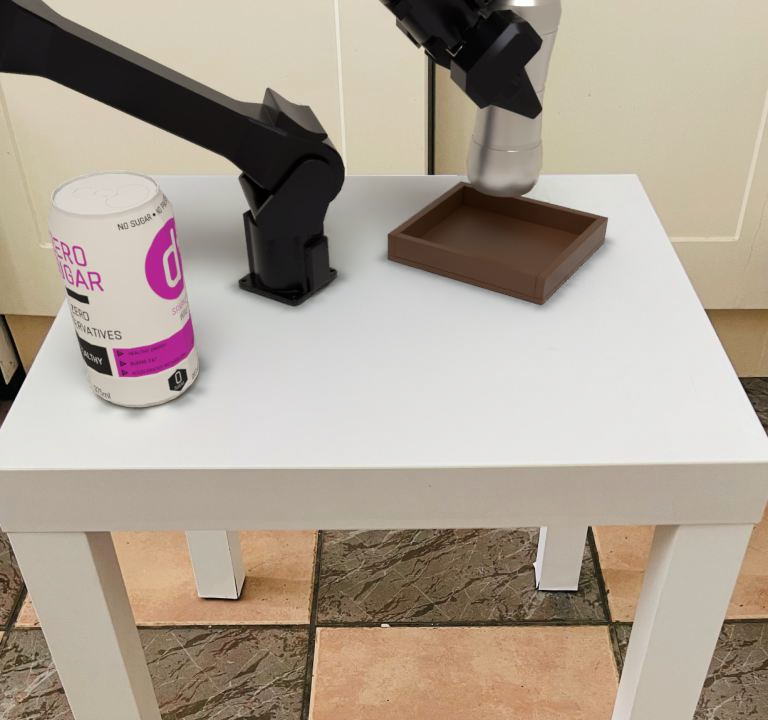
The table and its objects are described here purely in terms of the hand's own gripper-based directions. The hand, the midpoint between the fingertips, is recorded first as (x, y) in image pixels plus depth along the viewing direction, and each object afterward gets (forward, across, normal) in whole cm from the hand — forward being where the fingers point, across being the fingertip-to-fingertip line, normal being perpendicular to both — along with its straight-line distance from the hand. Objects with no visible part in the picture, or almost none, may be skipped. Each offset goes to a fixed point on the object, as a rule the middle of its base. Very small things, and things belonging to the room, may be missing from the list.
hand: (524, 102), depth 77 cm
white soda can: (-15, -12, +34) cm, 39 cm away
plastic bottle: (+4, 0, +6) cm, 8 cm away
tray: (+9, 0, +10) cm, 13 cm away
